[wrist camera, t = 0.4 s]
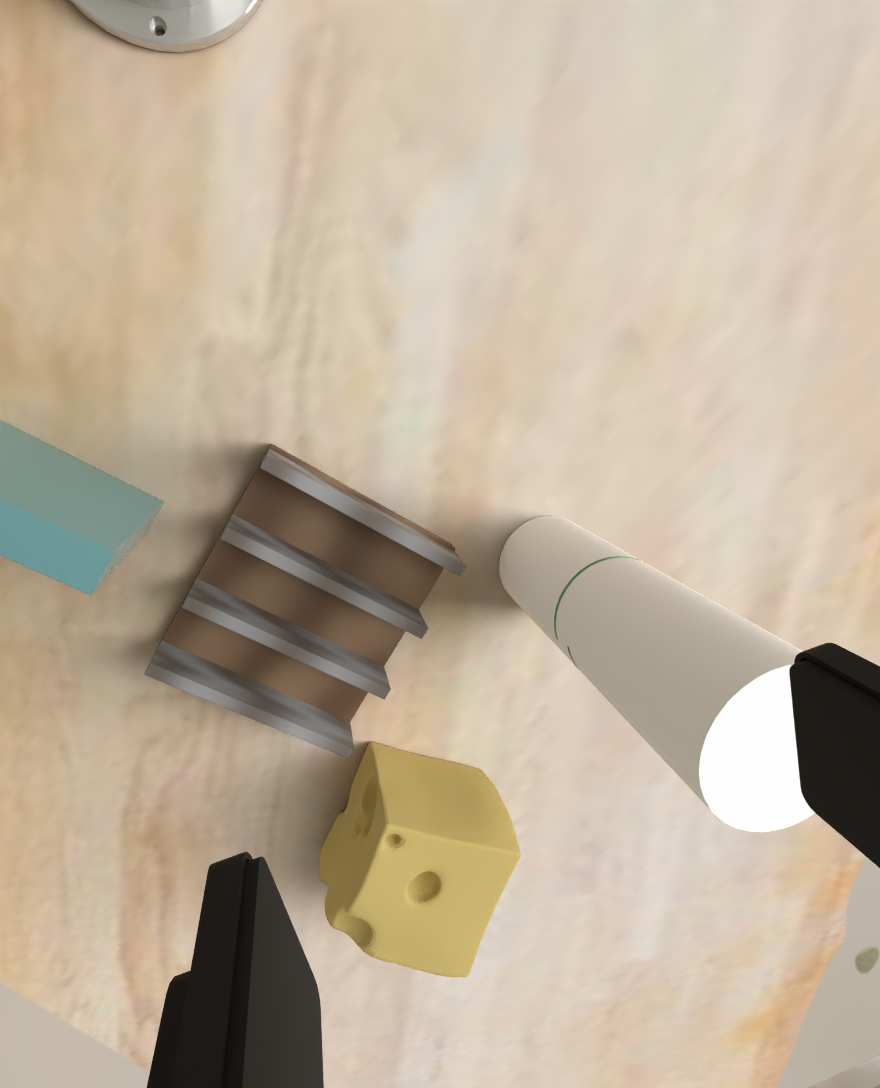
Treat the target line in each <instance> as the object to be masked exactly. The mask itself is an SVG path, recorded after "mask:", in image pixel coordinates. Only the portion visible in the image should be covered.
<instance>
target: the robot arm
mask: <svg viewBox="0 0 880 1088" xmlns="http://www.w3.org/2000/svg"><path fill="white" fill-rule="evenodd" d="M70 1H71V2H72V3H73V4H74V5H75V6H76V7H77V8H78V9H79V10H80V11H81V12H82V13H83V14H84V15H85V16H86V17H88V18H89V19H91V20H92V21H93V22H95V23H96V24H98V25H99V26H100V27H102V28H103V29H105V30H106V31H107V32H109V33H111V34H113V35H115V36H117V37H119V38H121V39H123V40H125V41H127V42H129V43H132V44H135V45H138V46H142V47H145V48H149V49H153V50H156V51H169V52H185V51H192V50H199V49H204V48H206V47H209V46H211V45H214V44H217V43H219V42H222V41H224V40H225V39H226V38H228V37H229V36H231V35H232V34H234V33H235V32H237V31H238V30H240V29H241V28H242V27H243V26H244V24H245V23H246V22H247V21H248V20H249V19H250V18H251V17H252V16H253V15H254V14H255V12H256V11H257V9H258V7H259V6H260V4H261V2H262V0H70ZM159 29H162V30H164V31H165V34H164V35H161V36H157V35H156V32H157V30H159ZM789 676H790V686H791V696H792V706H793V717H794V727H795V737H796V747H797V757H798V767H799V778H800V788H801V792H802V795H803V797H804V799H805V801H806V803H807V804H808V805H809V807H810V808H811V809H812V810H813V811H814V812H815V813H816V814H817V815H818V816H820V817H821V818H822V819H823V820H824V821H825V822H827V823H828V824H829V825H830V826H831V827H832V828H834V829H835V830H836V831H837V832H838V833H840V834H841V835H842V836H843V837H844V838H845V839H847V840H848V841H849V842H850V843H851V844H852V845H854V846H855V847H856V848H857V849H858V850H859V851H861V852H862V853H863V854H864V855H865V856H866V857H868V858H869V859H870V860H871V861H872V862H873V863H875V864H876V865H877V866H878V867H879V868H880V667H879V666H877V665H876V664H874V663H872V662H870V661H868V660H866V659H864V658H862V657H860V656H858V655H856V654H854V653H852V652H850V651H848V650H846V649H844V648H842V647H840V646H838V645H836V644H833V643H825V644H823V645H820V646H817V647H814V648H811V649H809V650H806V651H803V652H800V653H799V654H797V655H796V657H795V660H794V664H793V665H792V666H791V667H790V669H789ZM147 1088H324V1085H323V1058H322V1032H321V1007H320V998H319V992H318V987H317V984H316V981H315V978H314V975H313V973H312V970H311V968H310V966H309V963H308V961H307V958H306V956H305V954H304V951H303V949H302V946H301V944H300V942H299V939H298V937H297V935H296V932H295V930H294V927H293V925H292V923H291V920H290V918H289V915H288V913H287V911H286V908H285V906H284V903H283V901H282V899H281V896H280V894H279V891H278V889H277V887H276V884H275V882H274V879H273V877H272V875H271V872H270V870H269V867H268V865H267V863H266V861H265V859H264V858H263V857H259V858H256V859H252V857H251V855H250V854H249V853H248V852H244V853H241V854H238V855H235V856H233V857H230V858H227V859H224V860H221V861H219V862H216V863H213V864H211V865H210V867H209V870H208V874H207V880H206V886H205V891H204V897H203V903H202V909H201V914H200V920H199V926H198V931H197V937H196V943H195V948H194V954H193V960H192V965H191V971H188V972H185V973H183V974H180V975H177V976H175V977H174V978H173V979H172V981H171V982H170V984H169V987H168V990H167V994H166V998H165V1003H164V1008H163V1012H162V1017H161V1022H160V1027H159V1032H158V1037H157V1041H156V1046H155V1051H154V1056H153V1061H152V1065H151V1070H150V1075H149V1080H148V1085H147ZM809 1088H880V1055H879V1056H877V1057H874V1058H872V1059H870V1060H868V1061H866V1062H864V1063H861V1064H859V1065H857V1066H855V1067H853V1068H850V1069H848V1070H846V1071H844V1072H841V1073H839V1074H838V1075H835V1076H833V1077H831V1078H828V1079H826V1080H824V1081H822V1082H820V1083H817V1084H815V1085H813V1086H811V1087H809Z"/></svg>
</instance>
